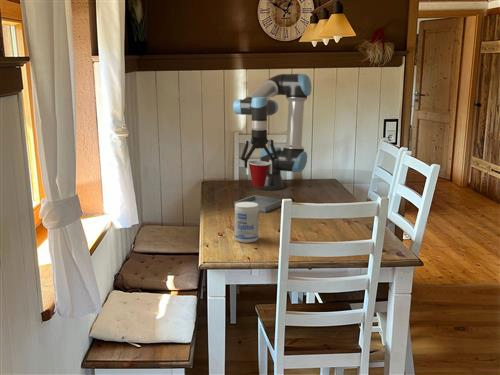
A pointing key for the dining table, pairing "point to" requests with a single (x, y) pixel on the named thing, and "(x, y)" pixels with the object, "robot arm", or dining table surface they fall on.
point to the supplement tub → (246, 221)
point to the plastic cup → (258, 172)
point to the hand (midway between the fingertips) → (259, 173)
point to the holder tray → (263, 202)
